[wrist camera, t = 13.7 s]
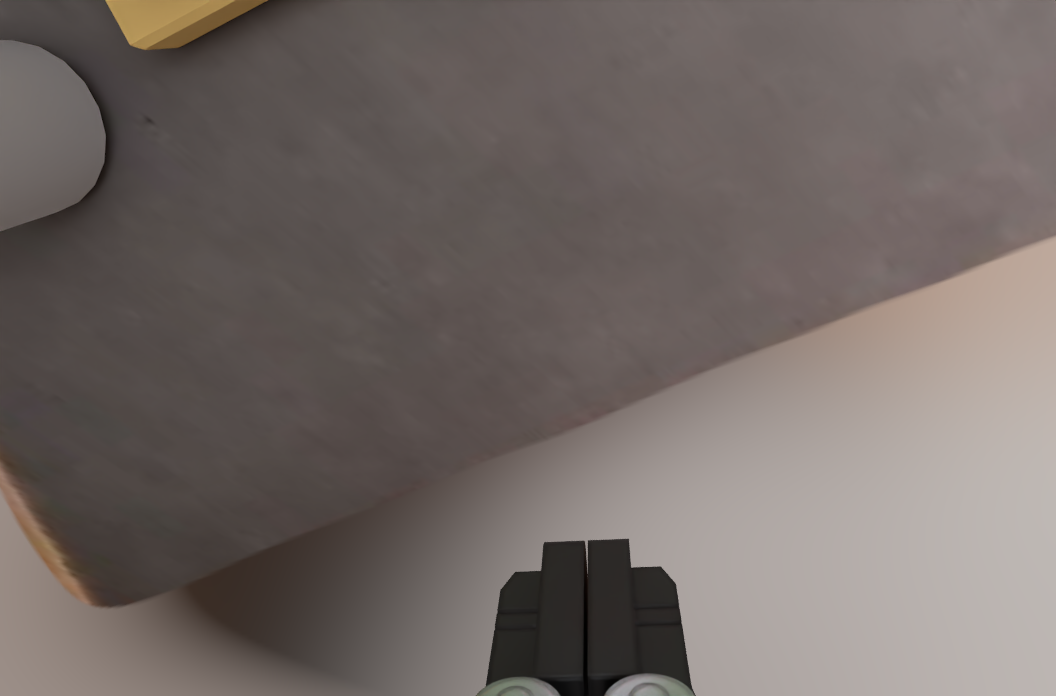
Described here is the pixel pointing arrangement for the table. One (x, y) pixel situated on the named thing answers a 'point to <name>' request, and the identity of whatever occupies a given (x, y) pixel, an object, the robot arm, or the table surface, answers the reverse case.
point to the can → (44, 135)
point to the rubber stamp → (173, 19)
